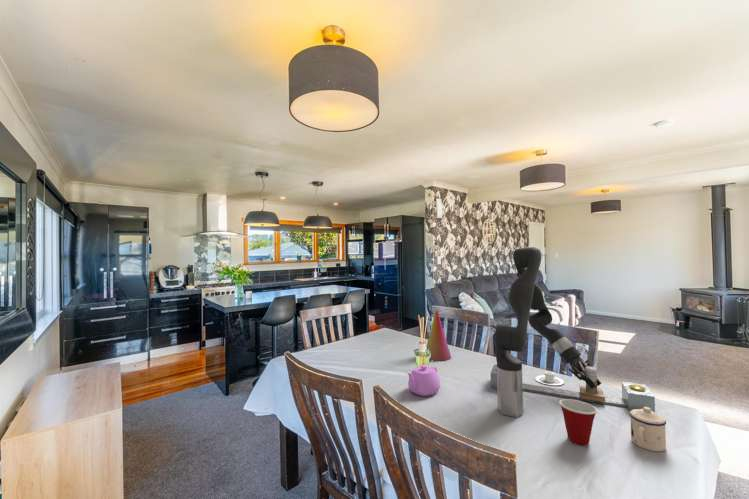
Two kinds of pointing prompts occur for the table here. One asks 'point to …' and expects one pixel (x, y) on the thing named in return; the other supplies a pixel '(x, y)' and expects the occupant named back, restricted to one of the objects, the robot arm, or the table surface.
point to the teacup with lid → (648, 429)
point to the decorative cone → (438, 341)
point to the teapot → (424, 380)
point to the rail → (631, 398)
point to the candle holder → (550, 378)
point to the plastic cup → (578, 420)
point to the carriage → (596, 392)
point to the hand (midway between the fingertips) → (596, 386)
